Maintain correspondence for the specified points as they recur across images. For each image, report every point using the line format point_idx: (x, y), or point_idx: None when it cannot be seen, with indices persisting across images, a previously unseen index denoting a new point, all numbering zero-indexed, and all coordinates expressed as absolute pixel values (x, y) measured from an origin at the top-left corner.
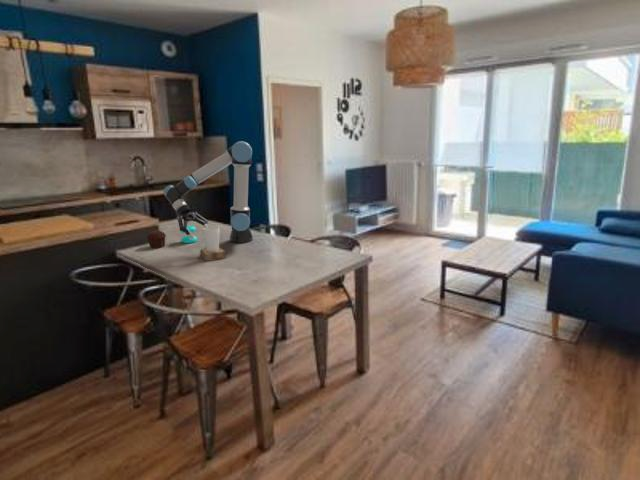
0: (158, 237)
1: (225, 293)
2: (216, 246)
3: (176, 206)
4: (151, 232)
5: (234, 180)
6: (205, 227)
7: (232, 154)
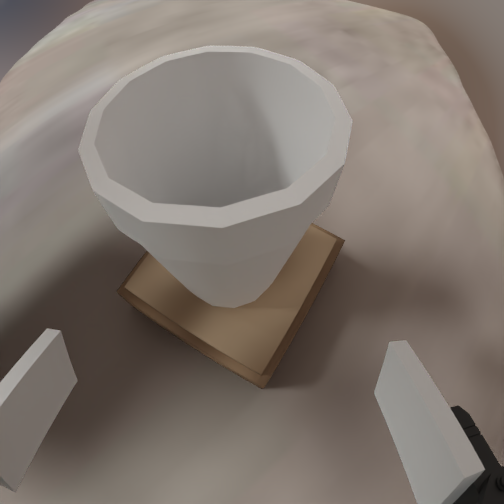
0: None
1: (440, 57)
2: (235, 196)
3: None
4: None
5: None
6: (17, 438)
7: None
